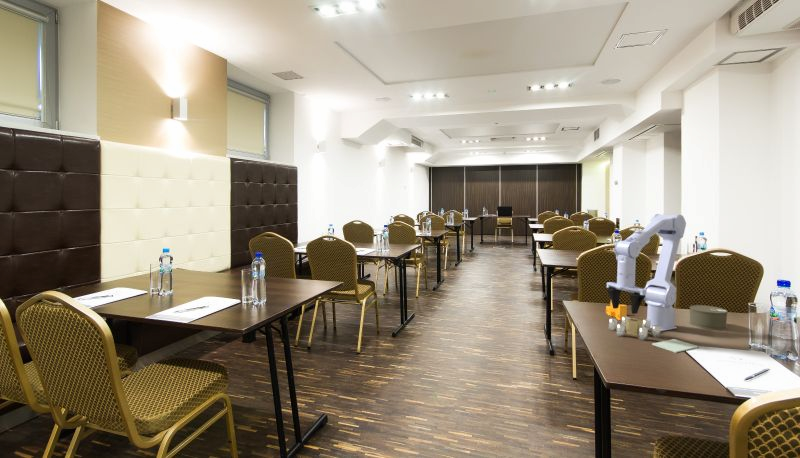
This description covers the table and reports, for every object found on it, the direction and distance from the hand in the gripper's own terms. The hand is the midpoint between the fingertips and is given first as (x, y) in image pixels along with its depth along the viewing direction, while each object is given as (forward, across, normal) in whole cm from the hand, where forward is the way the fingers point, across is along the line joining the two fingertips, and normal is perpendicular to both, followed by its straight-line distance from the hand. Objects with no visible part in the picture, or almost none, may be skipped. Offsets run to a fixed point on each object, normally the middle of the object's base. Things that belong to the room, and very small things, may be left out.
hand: (624, 310), depth 148 cm
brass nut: (+9, 0, +5) cm, 10 cm away
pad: (+9, +15, +5) cm, 18 cm away
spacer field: (+9, 0, +5) cm, 10 cm away
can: (+10, +5, +41) cm, 42 cm away
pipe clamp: (+9, -18, +18) cm, 27 cm away
